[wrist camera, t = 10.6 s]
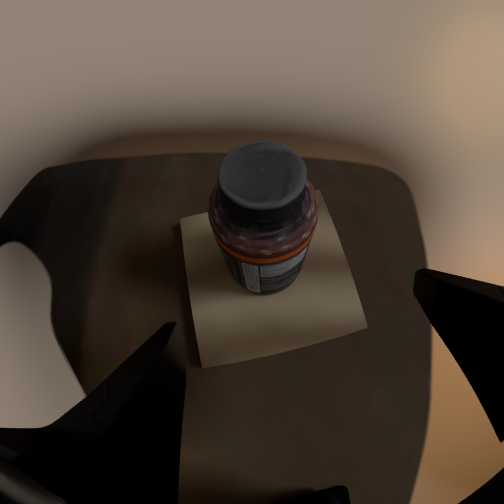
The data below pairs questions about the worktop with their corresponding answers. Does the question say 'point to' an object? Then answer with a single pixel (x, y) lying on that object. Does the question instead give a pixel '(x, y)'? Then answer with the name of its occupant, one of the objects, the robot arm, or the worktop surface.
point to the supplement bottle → (263, 215)
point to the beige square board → (268, 298)
